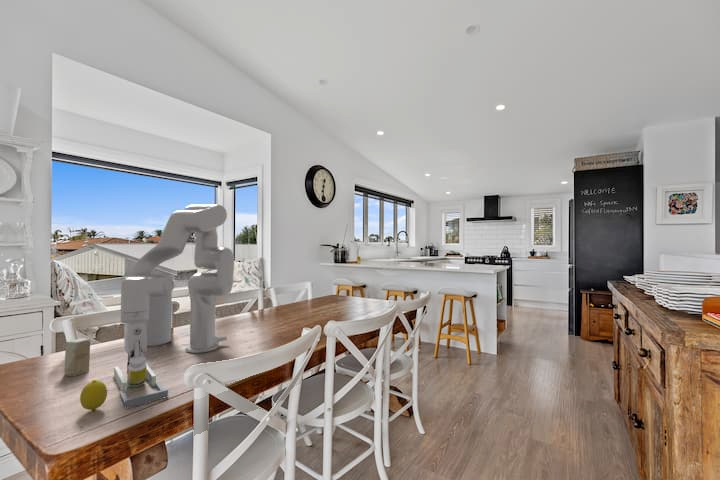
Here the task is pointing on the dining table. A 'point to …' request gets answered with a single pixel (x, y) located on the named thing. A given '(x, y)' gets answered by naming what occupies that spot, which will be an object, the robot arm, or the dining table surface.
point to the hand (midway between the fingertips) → (133, 374)
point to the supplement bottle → (136, 371)
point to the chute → (123, 384)
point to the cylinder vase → (159, 320)
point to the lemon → (93, 395)
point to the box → (77, 356)
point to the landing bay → (144, 396)
